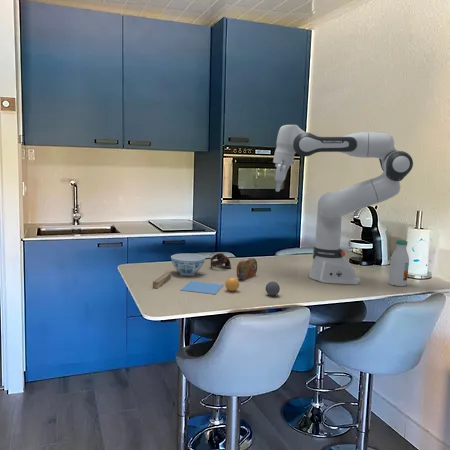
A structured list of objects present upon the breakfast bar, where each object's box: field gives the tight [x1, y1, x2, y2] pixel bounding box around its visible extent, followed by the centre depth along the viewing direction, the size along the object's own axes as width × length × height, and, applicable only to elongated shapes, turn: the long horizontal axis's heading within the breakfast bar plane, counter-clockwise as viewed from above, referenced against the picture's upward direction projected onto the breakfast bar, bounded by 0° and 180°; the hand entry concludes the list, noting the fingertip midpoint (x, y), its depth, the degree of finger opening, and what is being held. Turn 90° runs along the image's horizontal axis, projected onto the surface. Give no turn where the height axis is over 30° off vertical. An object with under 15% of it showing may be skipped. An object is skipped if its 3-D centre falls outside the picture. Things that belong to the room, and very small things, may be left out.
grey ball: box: [265, 281, 281, 297], centre depth 176 cm, size 6×6×6 cm
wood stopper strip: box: [152, 272, 172, 289], centre depth 185 cm, size 2×16×2 cm, turn 168°
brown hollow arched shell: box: [209, 252, 232, 270], centre depth 218 cm, size 12×10×8 cm
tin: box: [236, 257, 258, 281], centre depth 201 cm, size 15×3×8 cm, turn 148°
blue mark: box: [180, 280, 224, 295], centre depth 182 cm, size 14×14×1 cm
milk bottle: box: [388, 239, 410, 287], centre depth 202 cm, size 8×8×20 cm
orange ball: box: [224, 276, 240, 292], centre depth 179 cm, size 6×6×6 cm
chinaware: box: [170, 253, 206, 277], centre depth 202 cm, size 15×15×8 cm
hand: (278, 190), depth 207 cm, fingers open, 8 cm apart
